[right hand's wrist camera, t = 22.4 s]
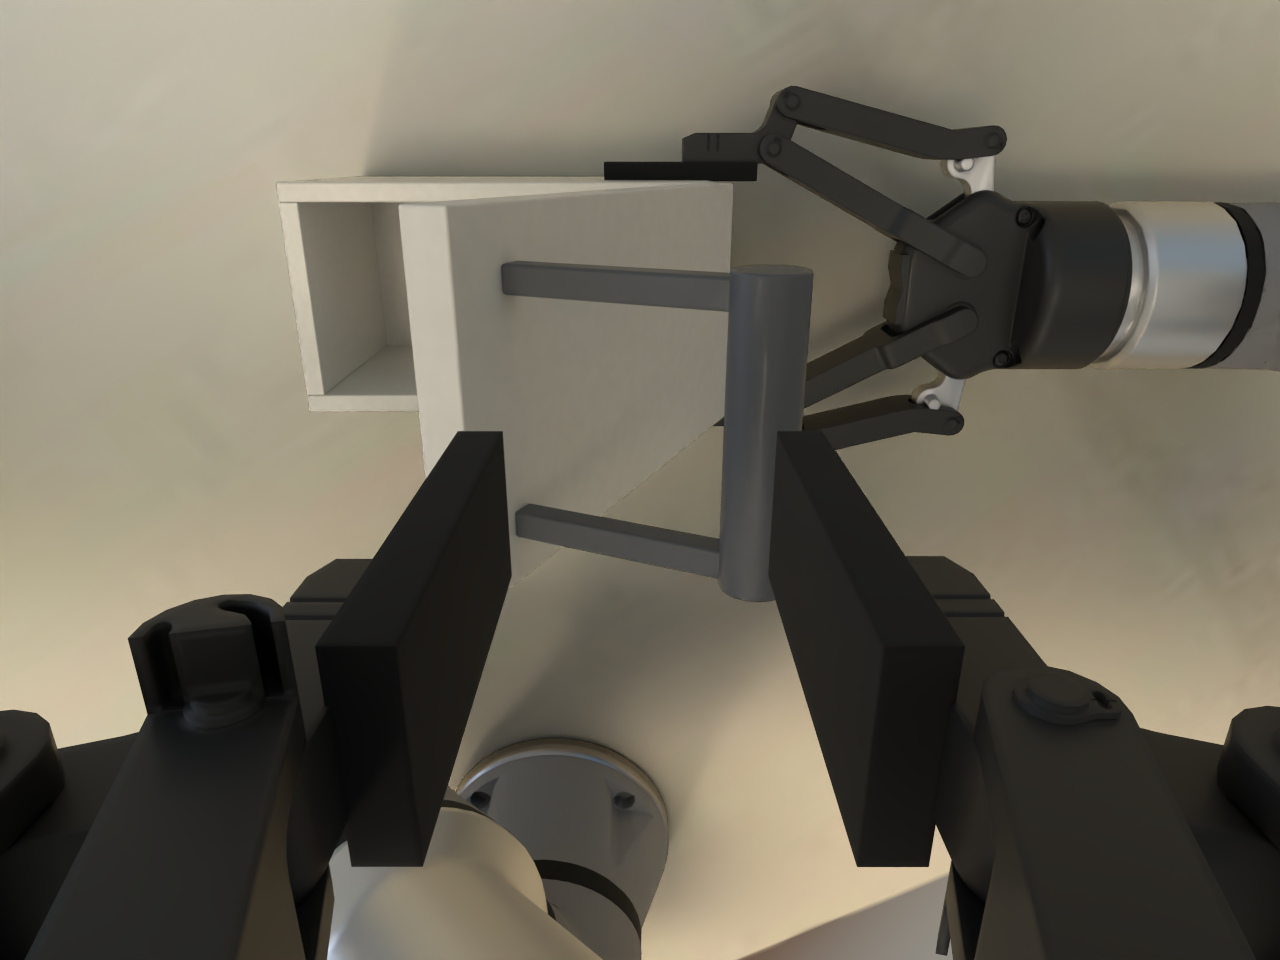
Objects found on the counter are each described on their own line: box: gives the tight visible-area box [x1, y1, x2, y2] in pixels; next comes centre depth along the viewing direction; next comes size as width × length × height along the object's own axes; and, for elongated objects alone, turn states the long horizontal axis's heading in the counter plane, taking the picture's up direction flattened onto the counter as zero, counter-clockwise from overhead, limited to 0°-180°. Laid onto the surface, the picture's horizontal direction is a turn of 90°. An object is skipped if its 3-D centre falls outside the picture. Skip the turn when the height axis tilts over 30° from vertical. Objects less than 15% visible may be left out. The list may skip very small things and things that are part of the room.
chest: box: [276, 176, 715, 412], centre depth 39 cm, size 17×9×11 cm, turn 90°
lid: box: [398, 183, 813, 602], centre depth 25 cm, size 18×9×8 cm
